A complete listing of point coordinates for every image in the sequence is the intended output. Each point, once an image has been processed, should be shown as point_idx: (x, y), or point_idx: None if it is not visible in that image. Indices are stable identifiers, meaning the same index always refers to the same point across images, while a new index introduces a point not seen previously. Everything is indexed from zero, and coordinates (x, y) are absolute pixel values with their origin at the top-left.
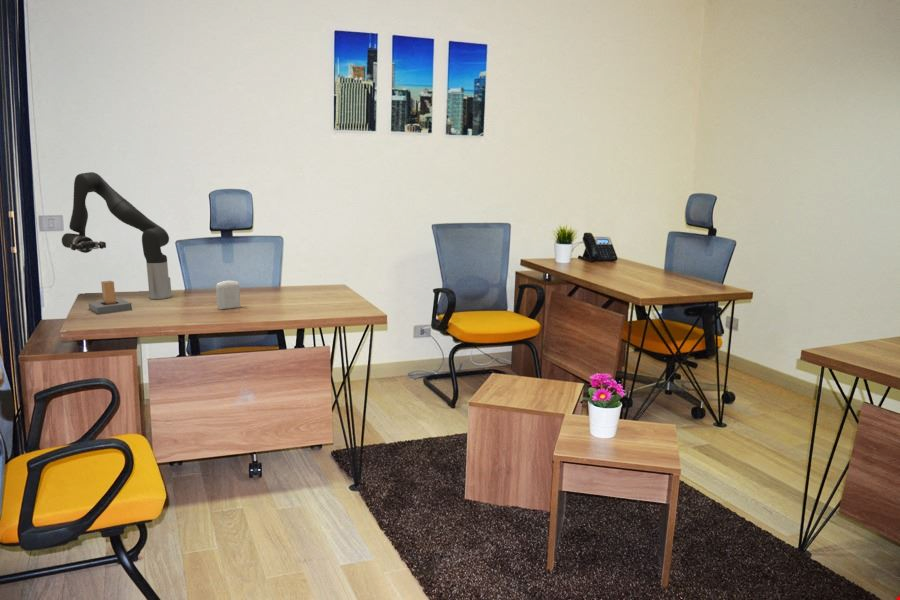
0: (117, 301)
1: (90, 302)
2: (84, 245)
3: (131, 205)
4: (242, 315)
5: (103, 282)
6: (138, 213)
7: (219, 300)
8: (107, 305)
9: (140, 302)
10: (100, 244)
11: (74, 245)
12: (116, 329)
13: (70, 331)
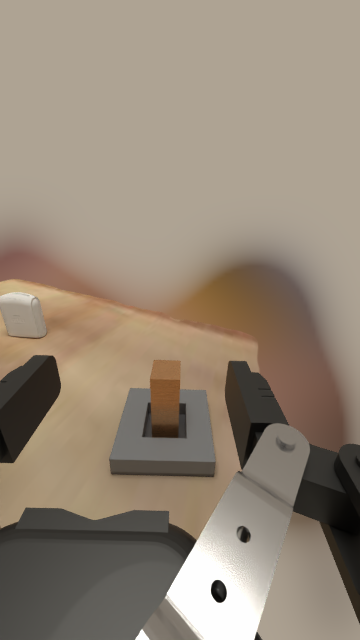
0: (141, 424)
1: (208, 461)
2: (178, 531)
3: None
4: (63, 310)
5: (178, 367)
6: None
7: (43, 319)
8: (180, 396)
9: (48, 477)
10: (36, 378)
11: (342, 450)
12: (201, 326)
13: (254, 340)
